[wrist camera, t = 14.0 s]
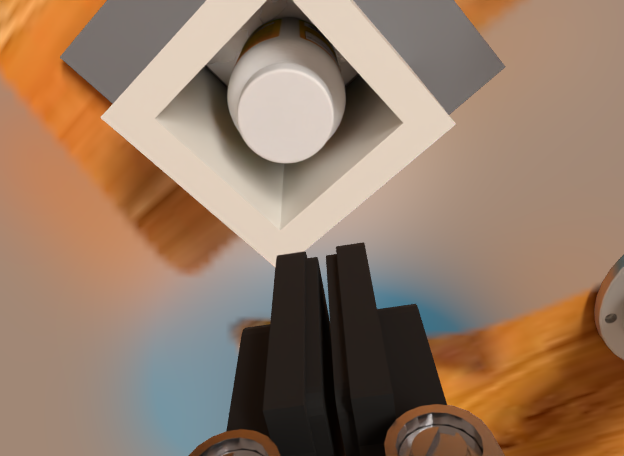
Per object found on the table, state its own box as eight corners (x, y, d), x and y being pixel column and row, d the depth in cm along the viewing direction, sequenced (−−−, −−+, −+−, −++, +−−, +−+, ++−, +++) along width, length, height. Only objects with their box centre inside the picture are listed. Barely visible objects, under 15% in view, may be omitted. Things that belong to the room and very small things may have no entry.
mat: (499, 63, 34) (505, 66, 33) (284, 247, 39) (284, 254, 39) (286, -211, 28) (286, -215, 27) (66, 53, 33) (59, 57, 32)
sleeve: (408, 64, 33) (455, 124, 23) (284, 176, 36) (280, 271, 26) (285, -78, 29) (280, -81, 19) (160, 59, 32) (100, 117, 23)
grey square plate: (361, 64, 33) (363, 67, 32) (285, 135, 35) (284, 141, 34) (285, -22, 31) (285, -20, 30) (208, 60, 32) (205, 64, 32)
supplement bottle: (239, 111, 33) (218, 176, 24) (240, 12, 30) (218, 45, 22) (332, 117, 33) (344, 184, 25) (341, 19, 31) (358, 55, 22)
